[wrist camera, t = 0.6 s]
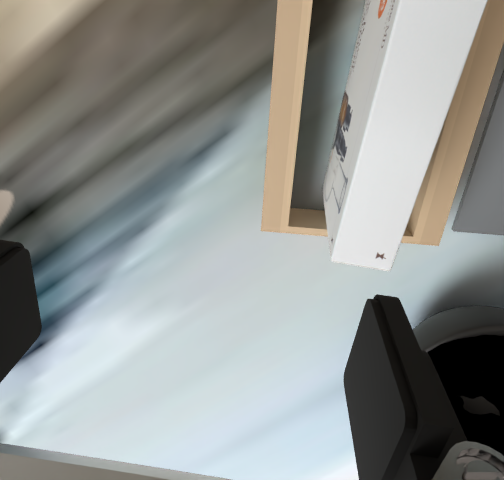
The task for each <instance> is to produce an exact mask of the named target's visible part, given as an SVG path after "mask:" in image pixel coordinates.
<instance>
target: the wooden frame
mask: <svg viewBox="0 0 504 480" xmlns="http://www.w3.org/2000/svg"><path fill="white" fill-rule="evenodd" d="M312 2H313V0H278V5H277V19H276V33H275V46H274V60H273V74H272V88H271V101H270V115H269V129H268V142H267V156H266V170H265V183H264V197H263V211H262V225H261V231H267V232H279V233H291V234H303V235H315V236H327V237H328V233H327V224H326V215H325V211H324V210H311V209H299V208H290V204H291V195H292V186H293V177H294V167H295V158H296V149H297V140H298V131H299V121H300V112H301V103H302V94H303V85H304V75H305V66H306V57H307V48H308V39H309V30H310V20H311V11H312ZM503 43H504V0H488V1H487V3H486V6H485V9H484V12H483V15H482V17H481V20H480V23H479V26H478V29H477V32H476V34H475V37H474V40H473V43H472V46H471V48H470V51H469V54H468V57H467V60H466V63H465V65H464V68H463V71H462V74H461V77H460V79H459V82H458V85H457V88H456V91H455V94H454V96H453V99H452V102H451V105H450V107H449V110H448V113H447V116H446V119H445V121H444V124H443V127H442V130H441V132H440V135H439V138H438V141H437V144H436V146H435V149H434V152H433V155H432V157H431V160H430V163H429V165H428V168H427V171H426V174H425V176H424V179H423V182H422V184H421V187H420V190H419V193H418V196H417V198H416V201H415V204H414V207H413V210H412V213H411V215H410V218H409V221H408V224H407V226H406V229H405V232H404V235H403V238H402V240H401V243H411V244H423V245H435V246H439V243H440V240H441V237H442V234H443V231H444V228H445V225H446V221H447V218H448V215H449V212H450V209H451V206H452V203H453V200H454V196H455V193H456V190H457V187H458V184H459V181H460V178H461V174H462V171H463V168H464V165H465V162H466V159H467V156H468V152H469V149H470V146H471V143H472V140H473V137H474V134H475V131H476V127H477V124H478V121H479V118H480V115H481V112H482V109H483V105H484V102H485V99H486V96H487V93H488V90H489V87H490V84H491V80H492V77H493V74H494V71H495V68H496V65H497V62H498V58H499V55H500V52H501V49H502V46H503Z"/></svg>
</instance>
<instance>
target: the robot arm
mask: <svg viewBox="0 0 504 480" xmlns="http://www.w3.org/2000/svg"><path fill="white" fill-rule="evenodd" d="M41 328H42V325H41V319H40V313H39V307H38V301H37V295H36V289H35V283H34V277H33V271H32V265H31V259H30V253H29V251H28V250H27V249H25V248H24V246H23V245H22V244H21V243H19V242H12V241H5V240H0V382H1V381H2V380H3V379H4V378H5V377H6V375H7V374H8V373H9V372H10V371H11V369H12V368H13V367H14V366H15V365H16V363H17V362H18V361H19V360H20V359H21V357H22V356H23V355H24V354H25V353H26V352H27V350H28V349H29V348H30V347H31V346H32V344H33V343H34V342H35V341H36V340H37V338H38V337H39V335H40V332H41ZM344 388H345V394H346V401H347V407H348V413H349V419H350V426H351V432H352V438H353V444H354V451H355V457H356V463H357V469H358V476H359V480H504V456H503V455H502V454H501V453H499V452H497V451H496V450H494V449H492V448H490V447H488V446H486V445H483V444H480V443H477V442H469V441H468V440H467V438H466V436H465V434H464V431H463V429H462V427H461V425H460V422H459V420H458V418H457V416H456V413H455V411H454V409H453V407H452V405H451V402H450V400H449V398H448V396H447V393H446V391H445V389H444V387H443V384H442V382H441V380H440V378H439V375H438V373H437V371H436V369H435V366H434V364H433V362H432V360H431V357H430V356H429V354H428V353H427V352H426V351H423V350H421V349H420V346H419V344H418V342H417V339H416V337H415V335H414V332H413V330H412V328H411V325H410V323H409V321H408V318H407V316H406V314H405V311H404V309H403V306H402V304H401V302H400V300H399V298H397V297H391V296H384V295H375V297H374V299H368V300H367V301H366V304H365V307H364V310H363V313H362V317H361V320H360V323H359V326H358V329H357V333H356V336H355V339H354V342H353V346H352V349H351V352H350V355H349V359H348V362H347V365H346V368H345V372H344ZM0 480H231V479H225V478H219V477H213V476H207V475H200V474H194V473H188V472H182V471H176V470H170V469H163V468H157V467H151V466H144V465H138V464H131V463H125V462H119V461H112V460H106V459H100V458H93V457H87V456H80V455H74V454H67V453H61V452H54V451H48V450H41V449H35V448H29V447H22V446H15V445H9V444H2V443H0Z"/></svg>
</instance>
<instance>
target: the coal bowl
mask: <svg viewBox="0 0 504 480" xmlns="http://www.w3.org/2000/svg"><path fill="white" fill-rule="evenodd" d="M413 332H414V335H415V337H416V339H417V342H418V344H419V346H420V349H421V350H423V351H426V352H427V353H428V354H429V356H430V357H431V360H432V362H433V364H434V366H435V369H436V371H437V373H438V375H439V378H440V380H441V382H442V384H443V387H444V389H445V391H446V393H447V396H448V398H449V400H450V402H451V405H452V407H453V409H454V411H455V413H456V416H457V418H458V420H459V422H460V425H461V427H462V429H463V431H464V434H465V436H466V438H467V440H468V441H469V442H477V443H480V444H483V445H486V446H488V447H490V448H492V449H494V450H496V451H497V452H499V453H501V454H502V455H503V456H504V309H501V308H496V307H489V306H464V307H458V308H453V309H449V310H446V311H443V312H440V313H438V314H436V315H433V316H431V317H430V318H428V319H426V320H425V321H423V322H422V323H420V324H419V325H418V326H416V327H415V328H414V329H413Z"/></svg>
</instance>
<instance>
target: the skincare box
mask: <svg viewBox="0 0 504 480" xmlns="http://www.w3.org/2000/svg"><path fill="white" fill-rule="evenodd" d="M487 1H488V0H366V1H365V5H364V10H363V14H362V18H361V23H360V27H359V31H358V36H357V40H356V44H355V49H354V53H353V57H352V62H351V66H350V70H349V75H348V79H347V83H346V88H345V92H344V96H343V100H342V105H341V109H340V113H339V118H338V122H337V126H336V131H335V135H334V140H333V144H332V148H331V152H330V157H329V161H328V165H327V170H326V174H325V179H324V183H323V188H322V191H323V200H324V208H325V215H326V224H327V233H328V240H329V248H330V256H331V261H332V262H336V263H341V264H348V265H354V266H359V267H365V268H371V269H377V270H383V271H390V270H391V268H392V266H393V263H394V260H395V257H396V254H397V252H398V249H399V246H400V243H401V240H402V238H403V235H404V232H405V229H406V226H407V224H408V221H409V218H410V215H411V213H412V210H413V207H414V204H415V201H416V198H417V196H418V193H419V190H420V187H421V184H422V182H423V179H424V176H425V174H426V171H427V168H428V165H429V163H430V160H431V157H432V155H433V152H434V149H435V146H436V144H437V141H438V138H439V135H440V132H441V130H442V127H443V124H444V121H445V119H446V116H447V113H448V110H449V107H450V105H451V102H452V99H453V96H454V94H455V91H456V88H457V85H458V82H459V79H460V77H461V74H462V71H463V68H464V65H465V63H466V60H467V57H468V54H469V51H470V48H471V46H472V43H473V40H474V37H475V34H476V32H477V29H478V26H479V23H480V20H481V17H482V15H483V12H484V9H485V6H486V3H487Z"/></svg>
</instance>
